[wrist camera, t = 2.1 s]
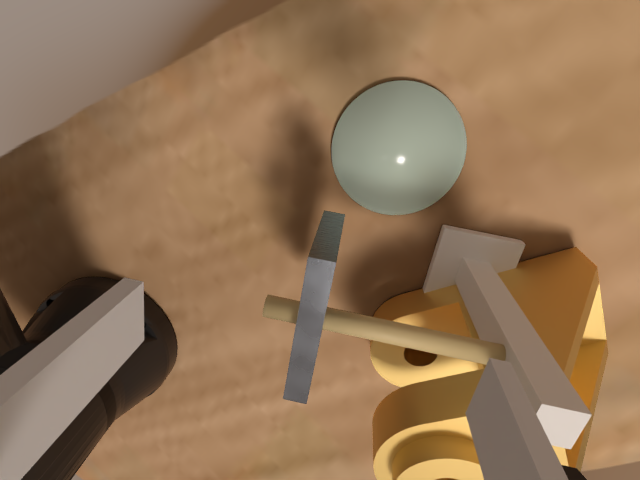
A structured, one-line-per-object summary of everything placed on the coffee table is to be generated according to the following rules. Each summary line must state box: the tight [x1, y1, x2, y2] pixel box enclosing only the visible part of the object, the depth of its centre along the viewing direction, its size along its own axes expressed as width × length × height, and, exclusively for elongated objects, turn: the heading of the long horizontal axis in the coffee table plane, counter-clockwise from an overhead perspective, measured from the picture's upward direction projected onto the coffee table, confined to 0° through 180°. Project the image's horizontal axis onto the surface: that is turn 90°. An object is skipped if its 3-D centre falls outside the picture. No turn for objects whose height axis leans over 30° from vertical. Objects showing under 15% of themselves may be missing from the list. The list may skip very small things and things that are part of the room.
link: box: [283, 210, 345, 404], centre depth 26 cm, size 2×10×8 cm, turn 170°
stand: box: [263, 225, 592, 449], centre depth 28 cm, size 20×7×18 cm, turn 80°
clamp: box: [370, 247, 608, 480], centre depth 30 cm, size 20×9×16 cm, turn 112°
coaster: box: [331, 80, 467, 215], centre depth 32 cm, size 11×11×1 cm
